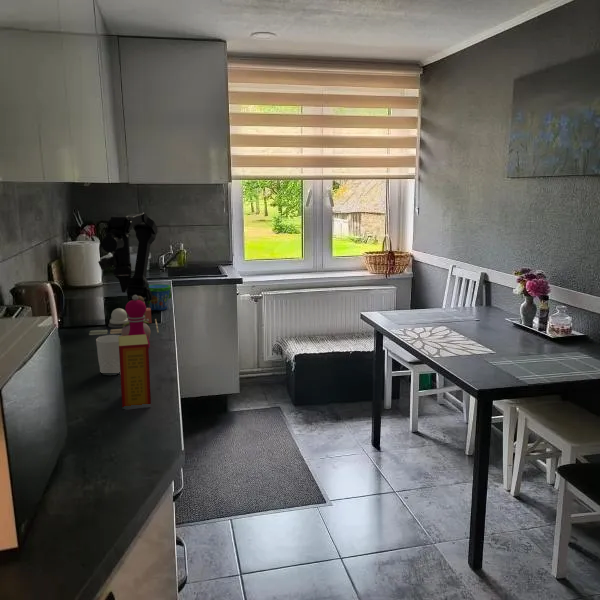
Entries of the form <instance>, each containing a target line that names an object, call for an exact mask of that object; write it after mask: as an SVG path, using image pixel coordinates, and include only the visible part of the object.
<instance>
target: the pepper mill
mask: <svg viewBox="0 0 600 600" xmlns="http://www.w3.org/2000/svg"><path fill="white" fill-rule="evenodd" d="M132 299H133V300H130V301H129V300H128V302H127V303H126V304H125V309H124V310H125V311H126V313H127V318H128V321H129V323H130V331H129V334H128V335H140V334H146V333H145V331H144V327H143V322H144V320H145V318H144V317H145V316H144V313H145V312H146V305H145V303H144V302H143V301H141V300H138V296H137V295H133V297H132ZM146 336H147V335H146ZM149 339H150V338H149ZM149 339H148V337H147V341H148V348H149V349H150V346H151V344H150V340H149Z"/></svg>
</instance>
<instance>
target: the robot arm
mask: <svg viewBox="0 0 600 600" xmlns="http://www.w3.org/2000/svg"><path fill="white" fill-rule="evenodd" d="M132 229H133V231H134V232H135V237H136V239H137V241H138V246H137V254H136V260H135V265H134V272H133V275H132V263H131V250H130V245H131V244H130V237H131V236H132V235H131V233H130V232H131V231H132ZM105 235H106V236H105V237H104V238H103V239H102V241H101V248H102V249H103V250H104V252H106V253H112V256H108V257H103V258H101V259H100V260H98V265H99V267H100V269H101V271H103V270H106V269H108V268H110V267H113V275H114V278H116V279H118V282H119V285H120V289H121V292H122V293H126V296H127V299H128V302H129V301H131V300H133V299H132V297H133V295H137V296H141V297H143V299H144V302H145V305H146V308H149V304H148V301H151V300H152V295H153V294H152V292H151V290H150V289H149V285H150V283H149V281H148V279H147V273H148V266H149V265H148V264H149V256H150V252H151V251H150V250H151V245H152V244H153V243H154V242H155V240H156V238H157V235H158V226H157V224H156V223H155V221H154V220H153V219H151V218H150V217H149V216H148V214H147V213H146V212H133V213H130V214H128V215H112V216H110V219H108V223H107V226H106V230H105Z"/></svg>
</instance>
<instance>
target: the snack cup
mask: <svg viewBox="0 0 600 600" xmlns="http://www.w3.org/2000/svg"><path fill="white" fill-rule="evenodd" d="M149 289H150V290H151V292H152V294H153V295H152V300H151V301H148V308H151V311H165V310H167V309H168V306H169V302H170V301H169V300H171V298H172V291H171V289H172V286H171V285H169V284H162V283H161V284H149Z"/></svg>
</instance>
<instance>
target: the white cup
mask: <svg viewBox="0 0 600 600" xmlns="http://www.w3.org/2000/svg"><path fill="white" fill-rule="evenodd" d="M118 336H122V335H121V334H105V335H102V336H98V337H97V338H96V339H95V341H96V351H97V359H98V360H97V361H98V365H99V373H100V372H101V373H119V372H120V358H119V338H118Z"/></svg>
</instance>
